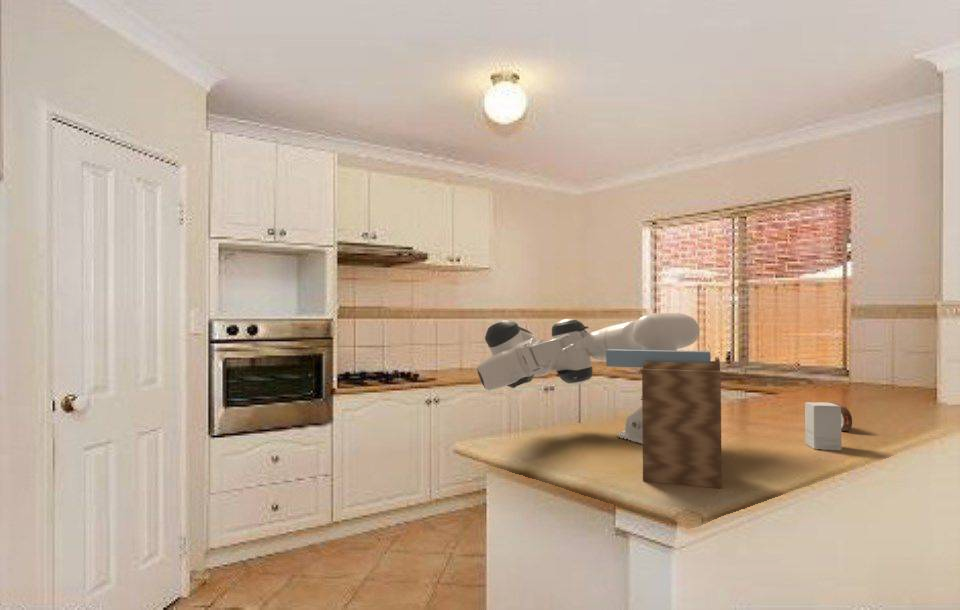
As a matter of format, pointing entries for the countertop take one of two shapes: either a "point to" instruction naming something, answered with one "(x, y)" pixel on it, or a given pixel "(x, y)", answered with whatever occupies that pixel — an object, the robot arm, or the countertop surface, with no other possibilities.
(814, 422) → the supplement box
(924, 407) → the countertop surface
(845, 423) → the brown curved piece
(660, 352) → the bar
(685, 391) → the stand
